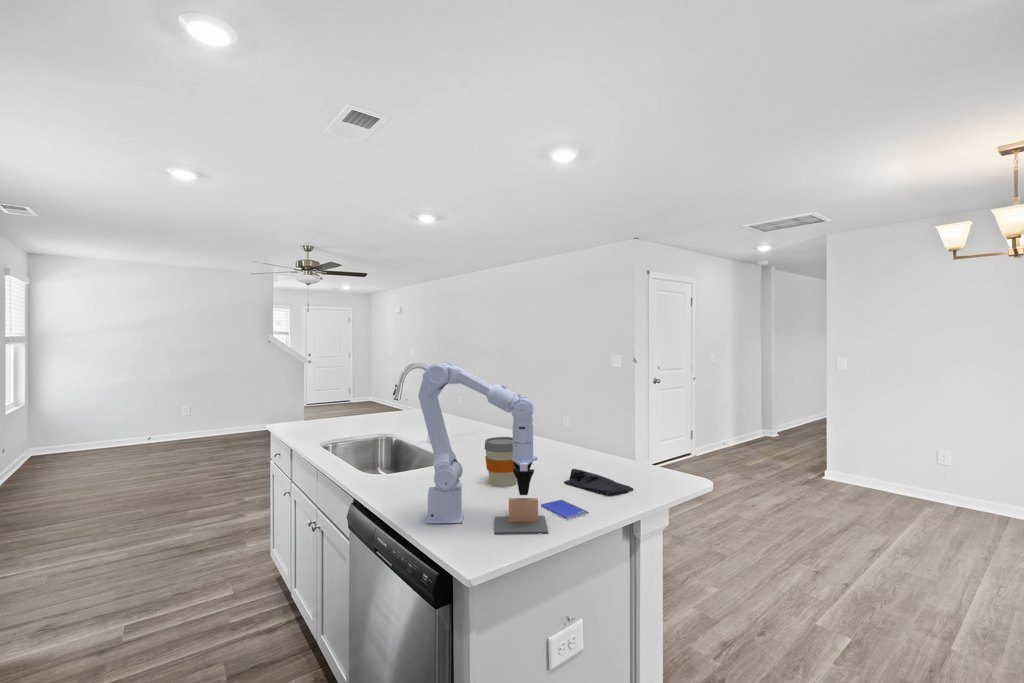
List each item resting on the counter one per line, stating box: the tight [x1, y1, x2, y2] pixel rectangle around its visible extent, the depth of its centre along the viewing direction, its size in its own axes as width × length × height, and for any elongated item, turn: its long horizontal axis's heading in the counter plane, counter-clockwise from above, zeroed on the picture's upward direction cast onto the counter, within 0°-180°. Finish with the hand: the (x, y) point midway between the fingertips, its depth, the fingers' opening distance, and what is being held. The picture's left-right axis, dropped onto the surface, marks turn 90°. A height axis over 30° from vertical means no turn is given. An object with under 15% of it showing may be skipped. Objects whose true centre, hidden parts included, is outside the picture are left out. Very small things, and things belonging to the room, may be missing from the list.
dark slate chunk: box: [563, 468, 634, 496], centre depth 163 cm, size 15×22×5 cm
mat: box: [493, 515, 549, 535], centre depth 128 cm, size 14×11×1 cm
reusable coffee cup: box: [484, 436, 517, 488], centre depth 167 cm, size 13×13×15 cm
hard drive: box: [540, 499, 590, 521], centre depth 139 cm, size 2×8×12 cm
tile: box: [508, 497, 539, 522], centre depth 130 cm, size 8×2×6 cm, turn 91°
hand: (523, 490), depth 132 cm, fingers open, 7 cm apart
